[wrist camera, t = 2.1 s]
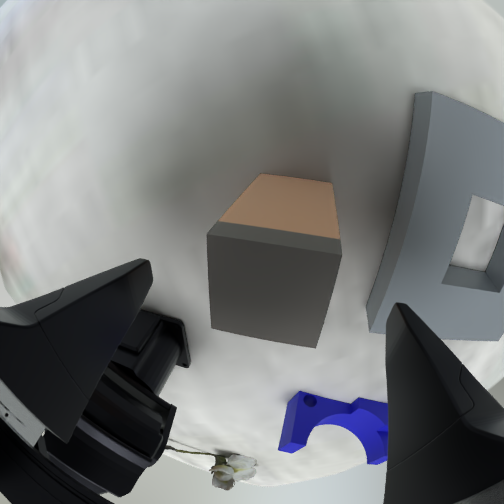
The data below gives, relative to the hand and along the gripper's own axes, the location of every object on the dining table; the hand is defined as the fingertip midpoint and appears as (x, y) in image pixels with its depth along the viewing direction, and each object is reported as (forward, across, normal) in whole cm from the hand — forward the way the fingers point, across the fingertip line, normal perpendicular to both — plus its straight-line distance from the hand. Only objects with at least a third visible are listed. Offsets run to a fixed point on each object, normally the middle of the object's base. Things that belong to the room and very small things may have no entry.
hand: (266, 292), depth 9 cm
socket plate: (+8, -12, -1) cm, 14 cm away
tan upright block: (+8, 0, 0) cm, 8 cm away
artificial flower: (+8, +10, +48) cm, 49 cm away
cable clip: (+8, -9, +20) cm, 23 cm away
